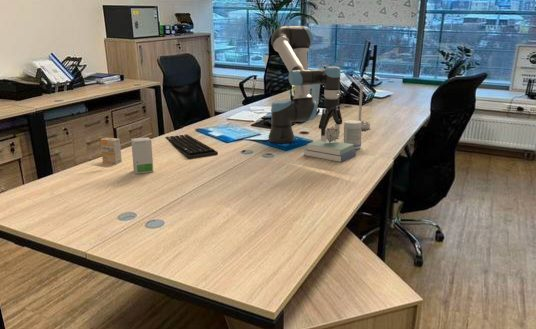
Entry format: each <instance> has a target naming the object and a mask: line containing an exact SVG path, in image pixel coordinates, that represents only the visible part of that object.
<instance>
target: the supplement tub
mask: <svg viewBox="0 0 536 329" xmlns="http://www.w3.org/2000/svg"><path fill="white" fill-rule="evenodd" d="M361 121H362V120H361ZM361 121H359V120H354V119H353V120H351V119H350V120H345V121H344V122H343V123H344V125H343V143H349V144H354V150H358V149H361V148H362V131H363V130H362V124H361Z"/></svg>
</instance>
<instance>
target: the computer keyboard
mask: <svg viewBox="0 0 536 329" xmlns="http://www.w3.org/2000/svg"><path fill="white" fill-rule="evenodd" d="M164 138H165V139H166V140H167V141H168V142H170V143H171V146H173V147H174V148H175V149H176V150H177V151H178V152H180V153H181V154H182V155H184V157H185V158H187V159H188V160H193V159H200V158H206V157H210V156H217V155H218V154H219V152H218V151H217V150H215V149H214V148H212V147H210V146H209V145H207V144H205V143H203V142H201V141H199V140H198V139H195V137H192V136H190V135H189V134H179V135H178V134H177V135H171V136H165V137H164Z"/></svg>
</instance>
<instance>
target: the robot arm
mask: <svg viewBox="0 0 536 329" xmlns="http://www.w3.org/2000/svg"><path fill="white" fill-rule="evenodd" d="M313 38H314V37H313V32H312V30H311V29H310V28H309V27H308V26H306V25H288V26H287V25H284V26H283V25H282V26H279V27H278V28H276V29H275V30H274V32H273V33H272V36H271V39H270V40H271V41H270V42H271V46H272V48H273V49H274V51H275V52H277V53H278V55H279V56H280V58H281V60H282V62H283V63H284V65H285V67H286V69H287V71H288V82H289V85H291V86H294V96H293V97H292V100H291V99H289V98H286V99H278V100H275V101H273V102H272V103H271V109H270V112H271V113H270V114H271V116H270V117H271V118H270V119H271V128H270V131H269V135H268V142H269V143H275V144H288V143H292V142H294V141H295V134H294V131H293V128H292V126H293V125H292V123H294V122H308V121H312V120H314V119H315V118H316V115H317V113H318V112H317V111H318V104H317V102H316V100H315V99H313V96H312V95H311V92H310V85H324V92H323V94H324V95H323V97H324V99H323V105H324V107H325V108H323V109H322V111H321V116H320V121H319V124H318V129H320V139H321V141H322V142H326V140H327V139H326V133H327V128H328V127H327V126H328V125H329V124H328V123H329V121H330V119H331V118H333V122H334V125H333V127H334V128H335V129H337V131H338V138H339V137H340V133H341V131H340V129H341V127H340V126H341V125H342V124H343V118H342V113H341V106H340V99H339V98H340V93H341V92H340V87H341V85H340V84H341V68H340V67H339V66H331V65H330V66H326V67H325V68H316V69H309V65H308V64H309V62H308V52H309V51H310V48H311V47H312V45H313V42H314V39H313ZM339 132H340V133H339Z"/></svg>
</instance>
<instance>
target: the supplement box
mask: <svg viewBox="0 0 536 329" xmlns="http://www.w3.org/2000/svg"><path fill="white" fill-rule="evenodd" d="M99 140H100V148H101V157H102V158H101V159H102V163H103V164H109V165H116V166H117V165H118V164H121V163H122V162H123V160H122V151H121V149H122V148H121V142H120V141H121V139H120V138H115V137H102V138H100V139H99Z"/></svg>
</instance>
